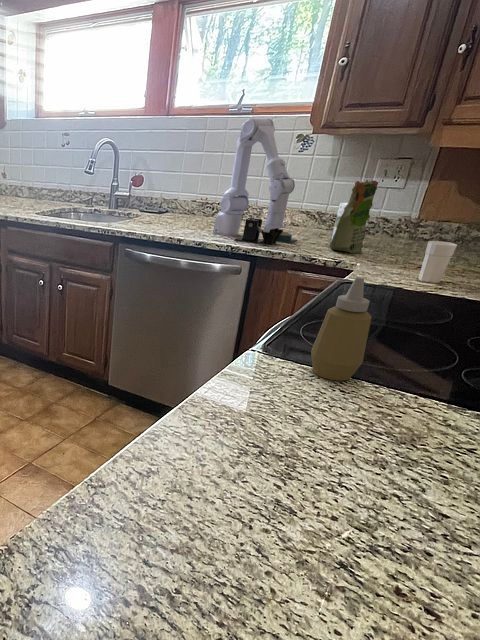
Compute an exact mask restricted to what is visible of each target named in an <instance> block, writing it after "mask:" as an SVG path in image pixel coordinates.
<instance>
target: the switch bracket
mask: <svg viewBox="0 0 480 640" xmlns="http://www.w3.org/2000/svg"><path fill="white" fill-rule="evenodd" d="M253 219H254V220H253ZM258 223H259V225H258ZM262 225H263V219H262V218H254V217H250V218H246V219H245V223H244V230H243V232H242V236H240V237H237V238H234V242H240V243H248V244H254V245H260V244H262V243H263V238H260V234H261V233H260V232H259V231H258V230H257V227H258V226H259V227H260V228H261V229H262Z"/></svg>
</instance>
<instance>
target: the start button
mask: <svg viewBox="0 0 480 640" xmlns="http://www.w3.org/2000/svg"><path fill="white" fill-rule="evenodd" d="M282 230H283V232H282V233H281V235H288V234H289V231H288V230H286V229H282Z"/></svg>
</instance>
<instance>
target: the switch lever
mask: <svg viewBox="0 0 480 640" xmlns="http://www.w3.org/2000/svg"><path fill="white" fill-rule="evenodd" d="M253 220H254V219H253ZM258 225H259V223H258ZM263 229H264V228H262V227H261V228H260V227H259V226H258V227H257V230H258V231H259V232H260V234H262V233H261V231H262V230H263Z"/></svg>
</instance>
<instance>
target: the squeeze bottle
mask: <svg viewBox="0 0 480 640" xmlns="http://www.w3.org/2000/svg"><path fill="white" fill-rule="evenodd" d="M364 288H365V278H364V277H361V276H356V277H355V278H354V280H353V282H352V283H351V285H350V287H349V289H348V290H347V292H346V293H345V294H341V295H338V296H337V299H336V303H335V306H332V307H330V308H328V309H327V312H326V314H325V316H324V319H323V321H322V324H321V326H320V329H319V331H318V333H317V335H316V339H315V341H314V343H313V346H312V348H311V351H310V356H311V366H312V367H311V368H312V372H313V373H314V374H315V375H317V376H318V377H320V378H324V379H327V380H332V381H339V382H345V381H348V380H350V379H351V378H352V377H353V375H354V374H355V373H356V372H357V371H358V370H359V368H360V367H361V366H362V365H363V363H364V358H365V353H366V347H367V342H368V337H369V333H370V326H371V322H372V315H371V314H370V312H368V309H369V305H370V300H369V299H367V298H365V297H364V290H365V289H364Z"/></svg>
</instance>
